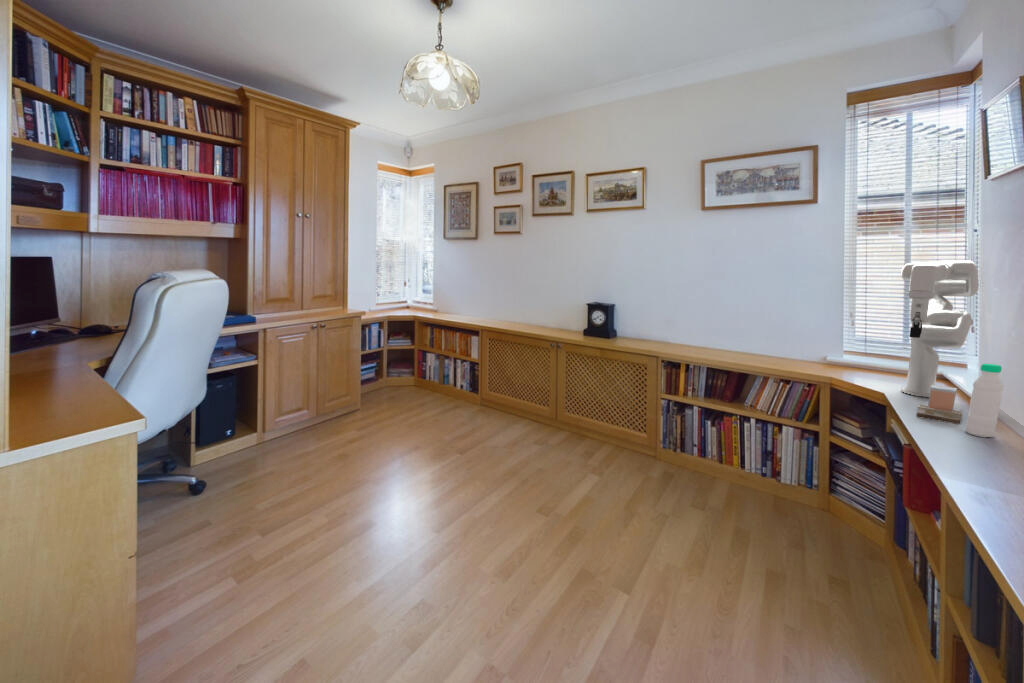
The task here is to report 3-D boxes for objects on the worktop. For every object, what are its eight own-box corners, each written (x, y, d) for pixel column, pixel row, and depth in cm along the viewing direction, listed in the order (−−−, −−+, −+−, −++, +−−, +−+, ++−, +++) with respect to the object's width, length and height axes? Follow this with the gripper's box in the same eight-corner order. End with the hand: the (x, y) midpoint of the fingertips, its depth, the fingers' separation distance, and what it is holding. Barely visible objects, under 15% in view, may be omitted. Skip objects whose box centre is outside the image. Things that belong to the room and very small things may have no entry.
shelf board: (919, 408, 181) (921, 399, 180) (961, 415, 172) (962, 405, 172) (916, 416, 171) (917, 407, 170) (959, 424, 163) (961, 414, 162)
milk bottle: (981, 438, 149) (994, 367, 145) (959, 431, 156) (970, 362, 152) (1000, 437, 150) (1013, 366, 146) (977, 430, 157) (989, 362, 153)
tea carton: (928, 408, 175) (931, 384, 174) (952, 412, 170) (956, 388, 169) (927, 412, 172) (930, 387, 170) (952, 416, 167) (956, 391, 165)
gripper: (932, 296, 172) (926, 339, 175) (933, 293, 184) (928, 333, 187) (907, 296, 177) (901, 338, 180) (909, 292, 189) (904, 331, 192)
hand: (915, 335), depth 183 cm, fingers open, 9 cm apart
